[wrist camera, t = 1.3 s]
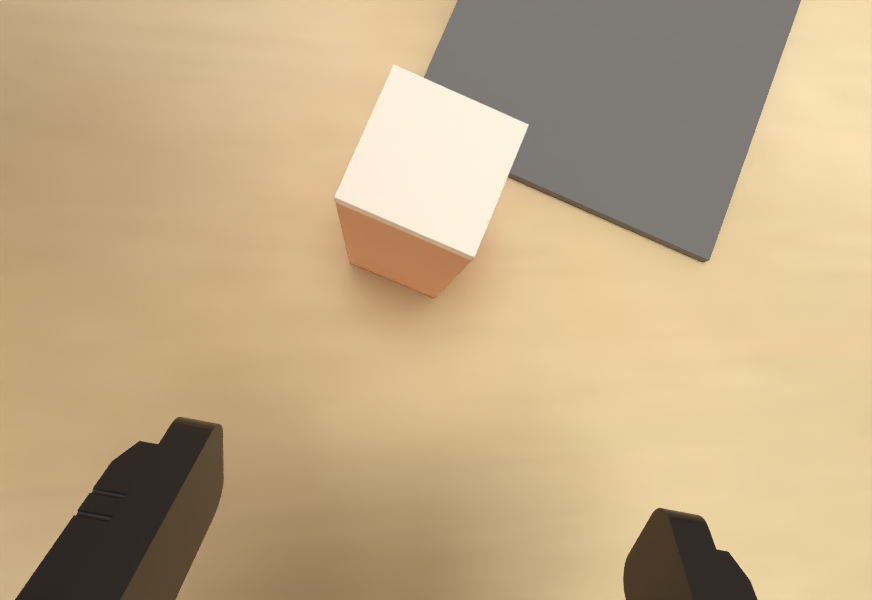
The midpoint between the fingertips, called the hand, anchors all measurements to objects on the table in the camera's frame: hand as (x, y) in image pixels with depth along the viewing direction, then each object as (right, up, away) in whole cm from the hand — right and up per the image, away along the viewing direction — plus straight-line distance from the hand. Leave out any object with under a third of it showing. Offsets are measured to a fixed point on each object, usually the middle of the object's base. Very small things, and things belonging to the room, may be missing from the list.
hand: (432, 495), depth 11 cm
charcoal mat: (+10, +17, +21) cm, 29 cm away
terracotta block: (-1, +7, +19) cm, 20 cm away
